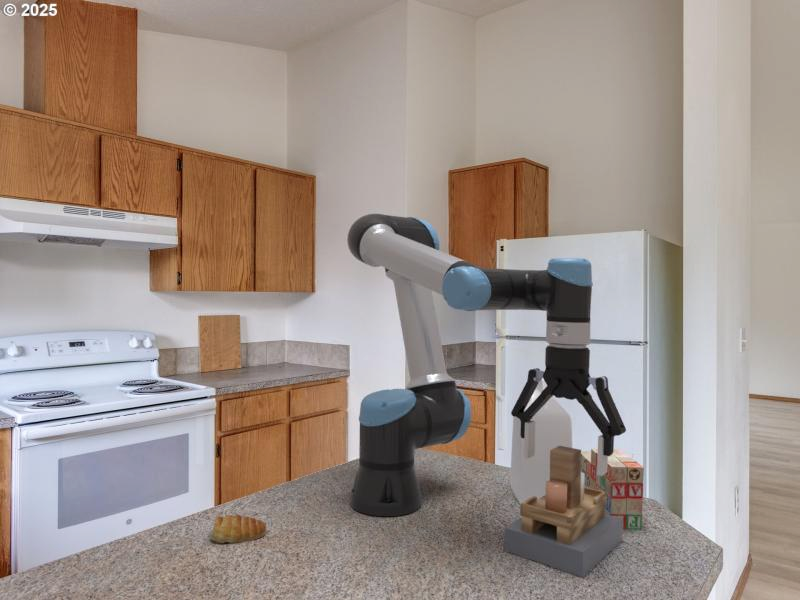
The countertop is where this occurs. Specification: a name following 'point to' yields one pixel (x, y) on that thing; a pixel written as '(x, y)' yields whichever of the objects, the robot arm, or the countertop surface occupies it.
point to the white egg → (582, 486)
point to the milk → (538, 447)
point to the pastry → (237, 529)
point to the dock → (565, 545)
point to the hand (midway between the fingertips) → (564, 465)
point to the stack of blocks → (617, 485)
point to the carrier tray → (566, 519)
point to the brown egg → (556, 496)
